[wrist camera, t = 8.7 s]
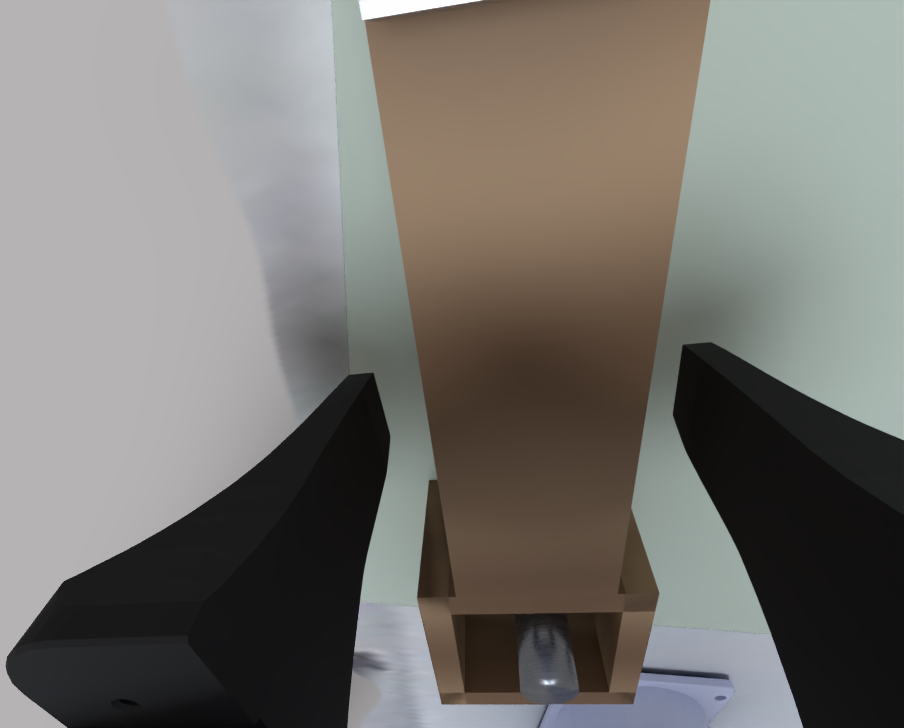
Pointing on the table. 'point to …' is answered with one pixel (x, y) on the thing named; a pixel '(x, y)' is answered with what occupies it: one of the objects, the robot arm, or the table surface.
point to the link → (536, 312)
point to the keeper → (410, 7)
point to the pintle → (546, 658)
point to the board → (689, 272)
